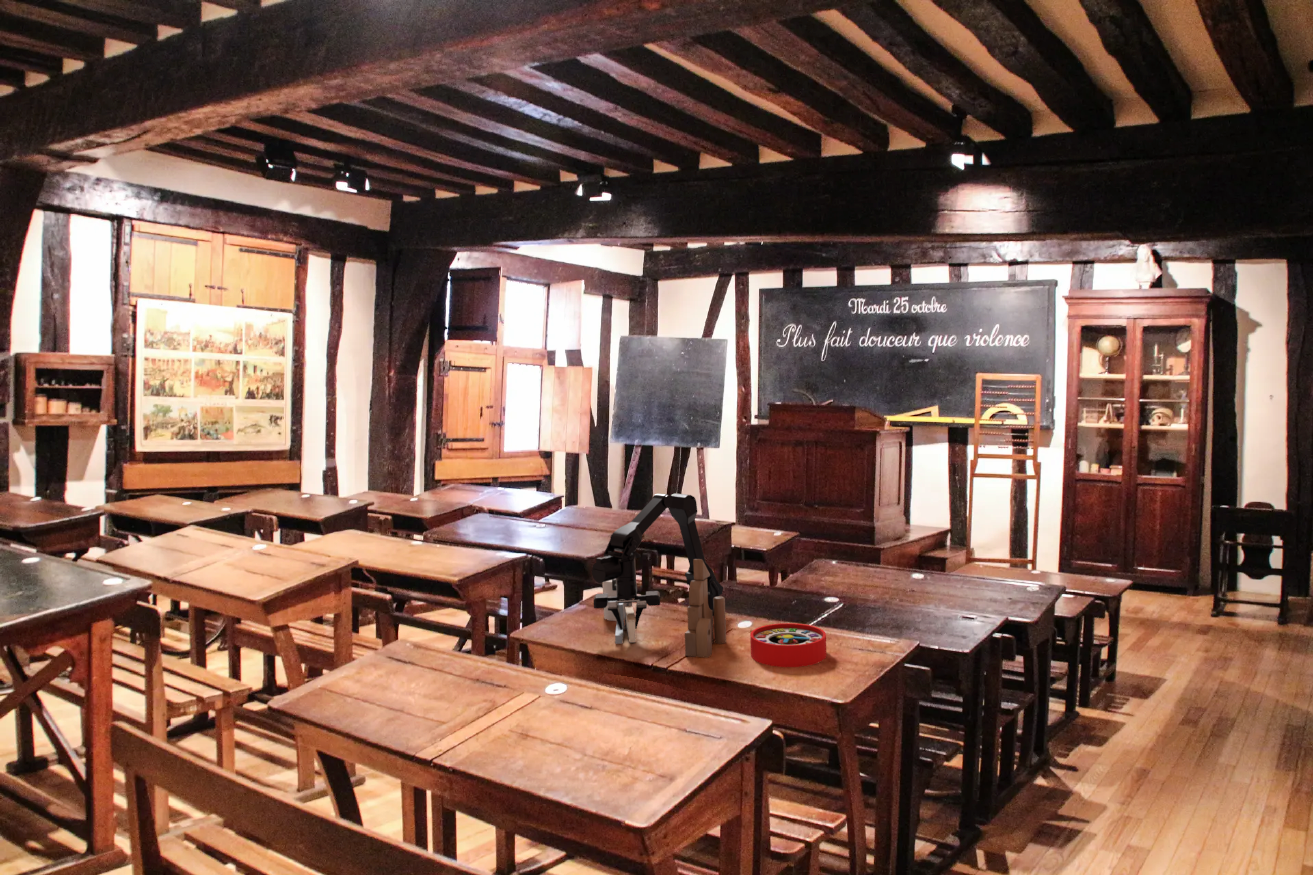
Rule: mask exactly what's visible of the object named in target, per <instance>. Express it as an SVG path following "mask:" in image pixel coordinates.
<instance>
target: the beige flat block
mask: <svg viewBox="0 0 1313 875" xmlns="http://www.w3.org/2000/svg"><path fill="white" fill-rule="evenodd" d="M625 612H626V629H627V630H626V633H627V638H628V640H629V643H636V642H637V637H636V636H637V635H636V629H635V622H636V618H635V616H636V613H635V611H634V607H633V605H632V606H625Z"/></svg>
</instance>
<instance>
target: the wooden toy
mask: <svg viewBox="0 0 1313 875" xmlns="http://www.w3.org/2000/svg"><path fill="white" fill-rule="evenodd" d="M693 565H694V580H692V581H691V582H690V586H689V585H688V600H689V601H688V603H689V604H688V606H687V607H686V608H687V631H685V632H684V652H685V656H686V657H692V658H693V657H694V658H696V657H697V658H699V657H700V658H709V657H711V655H712V654H713V645H712V644H713V643H715V644H719V645H722V644H723V645H724V644H725V643H726V642H727V628H726V625H727V624H726V623H727V622H726V600H725V596H722V595H720V596H717V597H714V598H713V608H714V616H713V611H712V610H711V609H710V608H709V605H708V588H707V577H709V576H710V573H709V572H708V570H707V568H706V566H705V564H704V562H703V560H702V559H694V560H693Z"/></svg>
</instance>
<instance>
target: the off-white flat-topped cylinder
mask: <svg viewBox="0 0 1313 875" xmlns="http://www.w3.org/2000/svg"><path fill="white" fill-rule="evenodd" d="M601 584H602V594H606V593H608V597H617V591H613V590H612V580H609V581H606V582H602V583H601ZM621 600H623V599H621ZM623 614H624V603H623ZM603 619H604V620H606V619H607V621H610V622H611V621H613V622H617V620H616V618H615V616H614V614H613V613H612V611H608V605H607V606H606V607H605V608H603ZM624 621H625V617H624Z"/></svg>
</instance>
